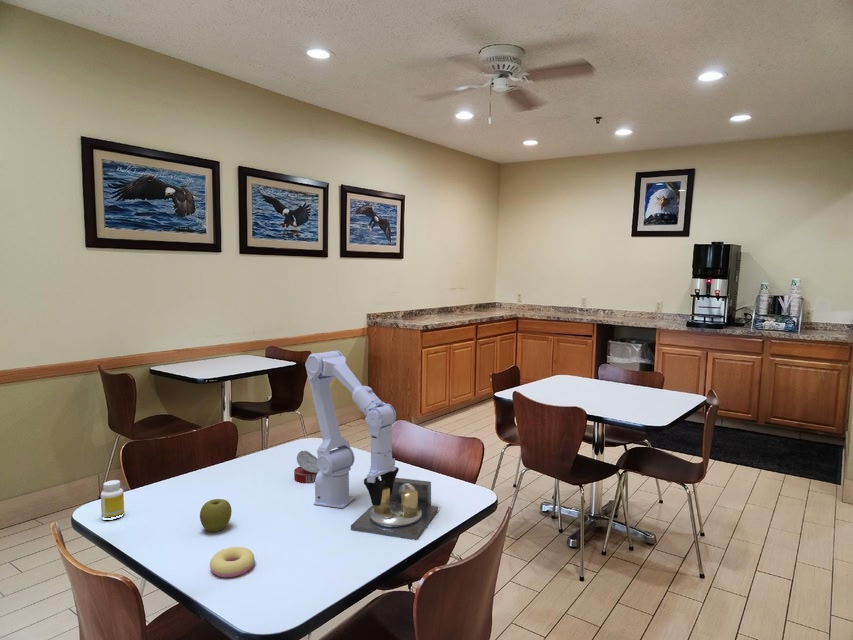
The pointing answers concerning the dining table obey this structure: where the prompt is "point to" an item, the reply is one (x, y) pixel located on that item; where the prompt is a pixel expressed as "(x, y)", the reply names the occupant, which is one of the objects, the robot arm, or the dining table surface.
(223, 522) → the apple
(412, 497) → the cylinder
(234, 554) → the donut
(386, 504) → the cylinder
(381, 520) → the scale pan
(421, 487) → the scale
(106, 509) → the supplement bottle
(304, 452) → the canned food
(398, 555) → the dining table surface
